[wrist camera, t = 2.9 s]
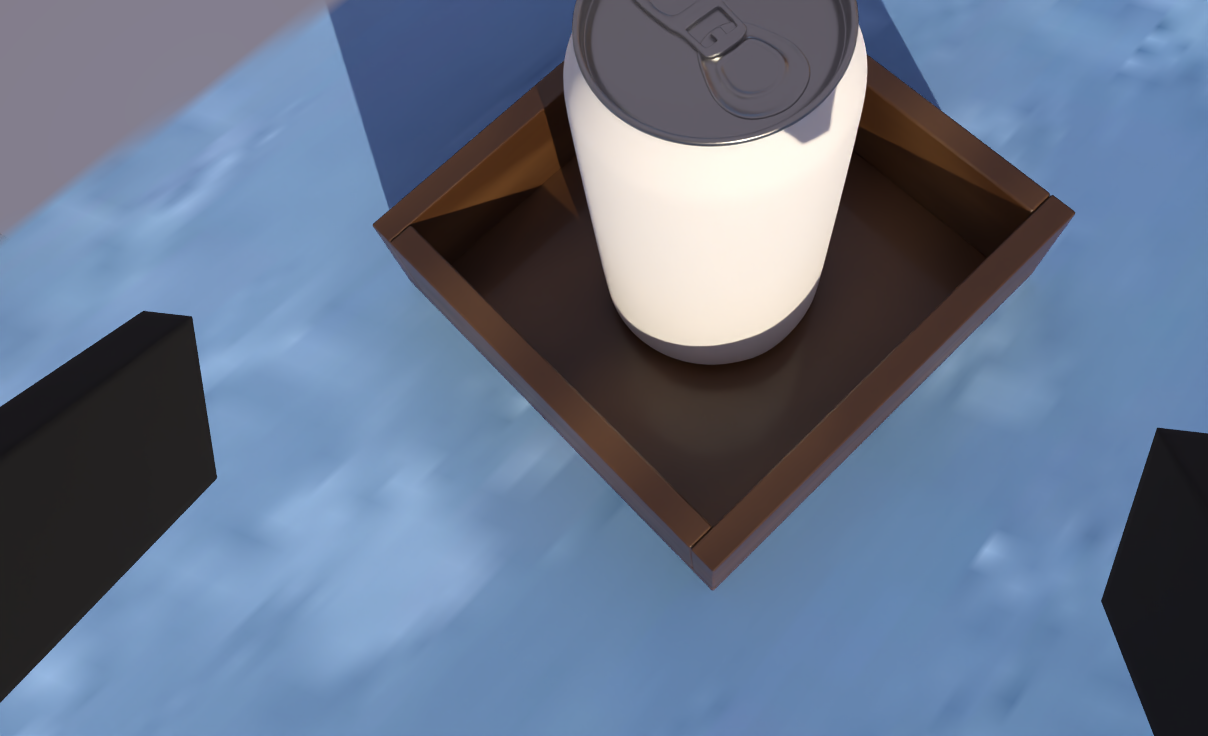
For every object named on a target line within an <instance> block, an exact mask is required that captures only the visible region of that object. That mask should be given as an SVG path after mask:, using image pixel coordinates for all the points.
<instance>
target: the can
mask: <svg viewBox="0 0 1208 736" xmlns="http://www.w3.org/2000/svg"><path fill="white" fill-rule="evenodd" d="M563 82H564V97H565V103H566V109H567V115H568V120H569V124H570V129H571V134H572V138H573V143H574V147H575V152H576V156H577V161H578V165H579V169H580V174H581V178H582V182H583V187H584V191H585V195H586V200H587V204H588V208H589V212H590V217H591V221H592V225H593V229H594V234H595V238H596V242H597V246H598V250H599V254H600V259H601V263H602V267H603V271H604V275H605V278H606V282H607V286H608V289H609V293H610V296H611V298H612V301H613V303H614V306H615V308H616V310H617V312H618V313H619V315H620V317H621V318H622V320H623V321H624V322H625V324H626V325H627V326H628V328H629V329H630V330H631V331H632V332H633V333H634V334H635V335H636V336H637V337H638V338H639V339H641V340H642V341H643V342H644V343H646V344H647V345H649V346H650V347H652V348H653V349H655V350H657V351H658V352H660V353H662V354H665V355H667V356H669V357H672V358H675V359H678V360H681V361H685V362H690V363H695V364H706V365H718V364H728V363H734V362H739V361H744V360H747V359H751V358H754V357H756V356H759V355H761V354H763V353H765V352H767V351H768V350H770V349H771V348H773V347H774V346H776V345H777V344H778V343H780V342H781V341H782V340H783V339H784V338H785V337H786V336H787V335H788V334H789V333H790V332H791V331H792V330H793V329H794V328H795V327H796V326H797V324H798V323H799V322H800V321H801V319H802V318H803V317H804V315H805V314H806V312H807V310H808V309H809V307H810V305H811V303H812V301H813V298H814V296H815V293H816V290H817V287H818V283H819V280H820V276H821V273H822V269H823V265H824V261H825V257H826V254H827V250H828V246H829V242H830V238H831V234H832V230H833V227H834V223H835V219H836V215H837V211H838V207H839V203H840V199H841V195H842V191H843V187H844V183H845V179H846V175H847V171H848V167H849V163H850V159H851V155H852V151H853V147H854V143H855V139H856V134H857V130H858V126H859V122H860V117H861V113H862V108H863V103H864V98H865V92H866V84H867V54H866V48H865V43H864V39H863V35H862V32H861V29H860V26H859V16H858V6H857V1H856V0H577V1H576V4H575V9H574V14H573V22H572V34H571V36H570V39H569V43H568V46H567V50H566V54H565V60H564V70H563Z"/></svg>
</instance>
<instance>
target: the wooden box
mask: <svg viewBox="0 0 1208 736" xmlns="http://www.w3.org/2000/svg"><path fill="white" fill-rule="evenodd" d="M563 70H564V61H563V62H562V63H561V64H559V65H558V66H557V67H556V68H555V69H554V70H552V71H551V72H550V73H549V74H548V75H547V76H545V77H544V78H543V79H542V80H541V81H540V82H538V83H537V84H536V85H535V86H534V87H533V88H531V89H530V90H529V91H528V92H527V93H526V94H524V95H523V96H522V97H521V98H520V99H519V100H517V101H516V102H515V103H514V104H513V105H512V106H510V107H509V108H508V109H507V110H506V111H505V112H503V113H502V114H501V115H500V116H499V117H498V118H496V119H495V120H494V121H493V122H492V123H491V124H489V125H488V126H487V127H486V128H485V129H483V130H482V131H481V132H480V133H479V134H478V135H476V136H475V137H474V138H473V139H472V140H471V141H469V142H468V143H467V144H466V145H465V146H464V147H462V148H461V149H460V150H459V151H458V152H457V153H455V154H454V155H453V156H452V157H451V158H450V159H448V160H447V161H446V162H445V163H444V164H443V165H441V166H440V167H439V168H438V169H437V170H436V171H434V172H433V173H432V174H431V175H430V176H429V177H427V178H426V179H425V180H424V181H423V182H422V183H420V184H419V185H418V186H417V187H416V188H415V189H413V190H412V191H411V192H410V193H409V194H407V195H406V196H405V197H404V198H403V199H402V200H400V201H399V202H398V203H397V204H396V205H395V206H393V207H392V208H391V209H390V210H389V211H388V212H386V213H385V214H384V215H383V216H382V217H381V218H379V219H378V220H377V221H376V222H375V223H374V224H373V227H374V228H375V230H376V231H377V233H378V234H379V236H380V237H381V239H382V240H383V241H384V243H385V244H386V246H387V247H388V249H389V250H390V252H391V253H392V255H393V256H394V258H395V259H396V260H397V262H398V263H399V265H400V266H401V268H402V269H403V271H404V272H405V274H406V275H407V276H408V278H409V279H410V281H411V282H412V283H413V284H414V285H415V286H416V287H417V288H418V289H419V290H420V291H421V292H422V293H423V294H424V295H425V296H426V297H427V298H428V299H429V301H430V302H431V303H432V304H433V305H434V306H435V307H436V308H437V309H438V310H439V311H440V312H441V313H442V314H443V315H444V316H445V317H446V318H447V319H448V320H449V321H450V322H451V323H452V324H453V325H454V326H455V327H456V328H457V329H458V330H459V331H460V332H461V333H462V334H463V335H464V336H465V337H466V338H467V340H468V341H469V342H470V343H471V344H472V345H473V346H474V347H475V348H476V349H477V350H478V351H479V352H480V353H481V354H482V355H483V356H484V357H485V358H486V359H487V360H488V361H489V362H490V363H491V364H492V365H493V366H494V367H495V368H496V369H497V370H498V371H499V372H500V373H501V374H502V375H503V376H504V377H505V379H506V380H507V381H508V382H509V383H510V384H511V385H512V386H513V387H514V388H515V389H516V390H517V391H518V392H519V393H520V394H521V395H522V396H523V397H524V398H525V399H526V400H527V401H528V402H529V403H530V404H531V405H532V406H533V407H534V408H535V409H536V410H537V411H538V412H539V413H540V414H541V415H542V417H543V418H544V419H545V420H546V421H547V422H548V423H549V424H550V425H551V426H552V427H553V428H554V429H555V430H556V431H557V432H558V433H559V434H560V435H561V436H562V437H563V438H564V439H565V440H566V441H567V442H568V443H569V444H570V445H571V446H572V447H573V448H574V449H575V450H576V451H577V452H578V453H579V454H580V456H581V457H582V458H583V459H584V460H585V461H586V462H587V463H588V464H589V465H590V466H591V467H592V468H593V469H594V470H595V471H596V472H597V473H598V474H599V475H600V476H601V477H602V478H603V479H604V480H605V481H606V482H607V483H608V484H609V485H610V486H611V487H612V488H613V489H614V490H615V491H616V492H617V493H618V495H619V496H620V497H621V498H622V499H623V500H624V501H625V502H626V503H627V504H628V505H629V506H630V507H631V508H632V509H633V510H634V511H635V512H636V513H637V514H638V515H639V516H640V517H641V518H642V519H643V520H644V521H645V522H646V523H647V524H648V525H649V526H650V527H651V528H652V529H653V530H654V531H655V532H656V534H657V535H658V536H659V537H660V538H661V539H662V540H663V541H664V542H665V543H666V544H667V545H668V546H669V547H670V548H671V549H672V550H673V551H674V552H675V553H676V554H677V555H678V556H679V557H680V558H681V559H682V560H683V561H684V562H685V563H686V564H687V565H688V566H689V567H690V568H691V569H692V570H693V572H694V573H695V574H696V575H697V576H698V577H699V578H700V579H701V580H702V581H703V582H704V583H705V584H706V585H707V586H708V587H709V588H710V589H711V590H715V589H716V588H717V587H718V586H719V585H720V584H721V583H722V582H723V581H724V580H725V579H726V578H727V577H728V576H729V575H730V574H731V573H732V572H733V571H734V570H735V569H736V568H737V567H738V566H739V565H740V564H741V563H742V562H743V561H744V560H745V559H746V558H747V557H748V556H749V555H750V554H751V553H752V552H753V551H754V550H755V549H756V548H757V547H758V546H759V545H760V544H761V543H762V542H763V541H764V540H765V539H766V538H767V537H768V536H769V535H770V534H771V533H772V532H773V531H774V530H775V529H776V528H777V527H778V526H779V525H780V524H781V523H782V522H783V521H784V520H785V519H786V518H787V517H788V516H789V515H790V514H791V513H792V512H793V511H794V510H795V509H796V508H797V507H798V506H799V505H800V504H801V503H802V502H803V501H804V500H805V499H806V498H807V497H808V496H809V495H810V494H811V493H812V492H813V491H814V490H815V489H816V488H817V487H818V486H819V485H820V484H821V483H822V482H823V481H824V480H825V479H826V478H827V477H828V476H829V475H830V474H831V473H832V472H833V471H834V470H835V469H836V468H837V467H838V466H839V465H840V464H841V463H842V462H843V461H844V460H845V459H846V458H847V457H848V456H849V455H850V454H851V453H852V452H853V451H854V450H855V449H856V448H857V447H858V446H859V445H860V444H861V443H862V442H863V441H864V440H865V439H866V438H867V437H868V436H869V435H870V434H871V433H872V432H873V431H874V430H875V429H876V428H877V427H878V426H879V425H880V424H881V423H882V422H883V421H884V420H885V419H886V418H887V417H888V416H889V415H890V414H891V413H892V412H893V411H894V410H895V409H896V408H897V407H898V406H899V405H900V404H901V403H902V402H903V401H904V400H905V399H906V398H907V397H908V396H910V395H911V394H912V393H913V392H914V391H915V390H916V389H917V388H918V387H919V386H920V385H921V384H922V383H923V382H924V381H925V380H926V379H927V378H928V377H929V376H930V375H931V374H932V373H933V372H934V371H935V370H936V369H937V368H938V367H939V366H940V365H941V364H942V363H943V362H944V361H945V360H946V359H947V358H948V357H949V356H950V355H951V354H952V353H953V352H954V351H955V350H956V349H957V348H958V347H959V346H960V345H961V344H962V343H963V342H964V341H965V340H966V339H967V338H968V337H969V336H970V335H971V334H972V333H973V332H974V331H975V330H976V329H977V328H978V327H979V326H980V325H981V324H982V323H983V322H984V321H985V320H986V319H987V318H988V317H989V316H990V315H991V314H992V313H993V312H994V311H995V310H996V309H997V308H998V307H999V306H1000V305H1001V304H1002V303H1003V302H1004V301H1005V300H1006V299H1007V298H1008V297H1009V296H1010V295H1011V294H1012V293H1013V292H1014V291H1015V290H1016V289H1017V288H1018V287H1019V286H1020V285H1021V284H1022V283H1023V282H1024V281H1025V280H1026V279H1027V278H1028V277H1029V276H1030V275H1031V274H1032V273H1033V271H1034V270H1035V268H1036V267H1037V266H1038V264H1039V263H1040V262H1041V260H1042V259H1043V257H1044V256H1045V255H1046V253H1047V252H1048V251H1049V249H1050V248H1051V246H1052V245H1053V244H1054V242H1055V241H1056V240H1057V238H1058V237H1059V235H1060V234H1061V233H1062V231H1063V230H1064V229H1065V227H1066V226H1067V224H1068V223H1069V222H1070V220H1071V219H1072V217H1073V216H1074V215H1075V212H1074V211H1073V210H1072V209H1071V208H1069V207H1068V206H1067V205H1065V204H1064V203H1063V202H1061V201H1060V200H1059V199H1057V198H1056V197H1055V196H1054V195H1051V196H1050V194H1049V192H1047V191H1046V190H1045V189H1044V188H1042V187H1041V186H1040V185H1038V184H1037V183H1036V182H1034V181H1033V180H1032V179H1030V178H1029V177H1028V176H1026V175H1025V174H1024V173H1022V172H1021V171H1020V170H1019V169H1017V168H1016V167H1015V166H1013V165H1012V164H1011V163H1009V162H1008V161H1007V160H1005V159H1004V158H1003V157H1001V156H1000V155H999V154H997V153H996V152H995V151H994V150H992V149H991V148H990V147H988V146H987V145H986V144H984V143H983V142H982V141H980V140H979V139H978V138H976V137H975V136H974V135H972V134H971V133H970V132H969V131H967V130H966V129H965V128H963V127H962V126H961V125H959V124H958V123H957V122H955V121H954V120H953V119H951V118H950V117H949V116H947V115H946V114H945V113H944V112H942V111H941V110H940V109H938V108H937V107H936V106H934V105H933V104H932V103H930V102H929V101H928V100H926V99H925V98H924V97H922V96H921V95H920V94H918V93H917V92H916V91H915V90H913V89H912V88H911V87H909V86H908V85H907V84H905V83H904V82H903V81H901V80H900V79H899V78H897V77H896V76H895V75H893V74H892V73H891V72H890V71H888V70H887V69H886V68H884V67H883V66H882V65H880V64H879V63H878V62H876V61H875V60H874V59H872V58H871V57H870V56H868V55H867V84H866V92H865V98H864V103H863V108H862V113H861V117H860V122H859V126H858V130H857V134H856V139H855V143H854V147H853V151H852V155H851V159H850V163H849V167H848V171H847V175H846V179H845V183H844V187H843V191H842V195H841V199H840V203H839V207H838V211H837V215H836V219H835V223H834V227H833V230H832V234H831V238H830V242H829V246H828V250H827V254H826V257H825V261H824V265H823V269H822V273H821V276H820V280H819V283H818V287H817V290H816V293H815V296H814V298H813V301H812V303H811V305H810V307H809V309H808V310H807V312H806V314H805V315H804V317H803V318H802V319H801V321H800V322H799V323H798V324H797V326H796V327H795V328H794V329H793V330H792V331H791V332H790V333H789V334H788V335H787V336H786V337H785V338H784V339H783V340H782V341H781V342H780V343H778V344H777V345H776V346H774V347H773V348H771V349H770V350H768V351H767V352H765V353H763V354H761V355H759V356H756V357H754V358H751V359H747V360H744V361H739V362H734V363H728V364H718V365H706V364H695V363H690V362H685V361H681V360H678V359H675V358H672V357H669V356H667V355H665V354H662V353H660V352H658V351H657V350H655V349H653V348H652V347H650V346H649V345H647V344H646V343H644V342H643V341H642V340H641V339H639V338H638V337H637V336H636V335H635V334H634V333H633V332H632V331H631V330H630V329H629V328H628V326H627V325H626V324H625V322H624V321H623V320H622V318H621V317H620V315H619V313H618V312H617V310H616V308H615V306H614V303H613V301H612V298H611V296H610V293H609V289H608V286H607V282H606V278H605V275H604V271H603V267H602V263H601V259H600V254H599V250H598V246H597V242H596V238H595V234H594V229H593V225H592V221H591V217H590V212H589V208H588V204H587V200H586V195H585V191H584V187H583V182H582V178H581V174H580V169H579V165H578V161H577V156H576V152H575V147H574V143H573V138H572V134H571V129H570V124H569V120H568V115H567V109H566V103H565V97H564V82H563ZM1049 196H1050V197H1049Z"/></svg>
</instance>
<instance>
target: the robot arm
mask: <svg viewBox="0 0 1208 736" xmlns="http://www.w3.org/2000/svg"><path fill="white" fill-rule="evenodd" d="M216 479H217V475H216V468H215V462H214V455H213V449H212V442H211V436H210V429H209V423H208V416H207V410H206V403H205V397H204V391H203V384H202V378H201V371H200V365H199V358H198V352H197V345H196V339H195V332H194V326H193V319H192V317H191V316H183V315H174V314H165V313H157V312H148V311H142V312H141V313H139V314H138V315H136V316H135V317H133V318H132V319H131V320H129V321H128V322H126V323H125V324H123V325H122V326H120V327H119V328H117V329H116V330H114V331H113V332H111V333H110V334H108V335H107V336H105V337H104V338H102V339H101V340H99V341H98V342H96V343H95V344H93V345H92V346H90V347H89V348H87V349H86V350H84V351H83V352H81V353H80V354H78V355H77V356H75V357H74V358H72V359H71V360H69V361H68V362H66V363H65V364H63V365H62V366H60V367H59V368H57V369H56V370H55V371H53V372H52V373H50V374H49V375H47V376H46V377H44V378H43V379H41V380H40V381H38V382H37V383H35V384H34V385H32V386H31V387H29V388H28V389H26V390H25V391H23V392H22V393H20V394H19V395H17V396H16V397H14V398H13V399H11V400H10V401H8V402H7V403H5V404H4V405H2V406H1V407H0V702H1V701H2V700H3V699H4V698H5V697H6V696H7V695H8V694H9V693H10V692H11V691H12V690H13V689H14V688H15V687H16V686H17V685H18V684H19V683H20V682H21V681H22V680H23V679H24V678H25V677H26V676H27V675H28V673H29V672H30V671H31V670H32V669H33V668H34V667H35V666H36V665H37V664H38V663H39V662H40V661H41V660H42V659H43V658H44V657H45V656H46V655H47V654H48V653H49V652H50V651H51V650H52V649H53V648H54V647H55V646H56V644H57V643H58V642H59V641H60V640H61V639H62V638H63V637H64V636H65V635H66V634H67V633H68V632H69V631H70V630H71V629H72V628H73V627H74V626H75V625H76V624H77V623H78V622H79V621H80V620H81V619H82V618H83V617H84V615H85V614H86V613H87V612H88V611H89V610H90V609H91V608H92V607H93V606H94V605H95V604H96V603H97V602H98V601H99V600H100V599H101V598H102V597H103V596H104V595H105V594H106V593H107V592H108V591H109V590H110V589H111V588H112V586H113V585H114V584H115V583H116V582H117V581H118V580H119V579H120V578H121V577H122V576H123V575H124V574H125V573H126V572H127V571H128V570H129V569H130V568H131V567H132V566H133V565H134V564H135V563H136V562H137V561H138V560H139V559H140V557H141V556H142V555H143V554H144V553H145V552H146V551H147V550H148V549H149V548H150V547H151V546H152V545H153V544H154V543H155V542H156V541H157V540H158V539H159V538H160V537H161V536H162V535H163V534H164V533H165V532H166V531H167V530H168V528H169V527H170V526H171V525H172V524H173V523H174V522H175V521H176V520H177V519H178V518H179V517H180V516H181V515H182V514H183V513H184V512H185V511H186V510H187V509H188V508H189V507H190V506H191V505H192V504H193V503H194V502H195V501H196V499H197V498H198V497H199V496H200V495H201V494H202V493H203V492H204V491H205V490H206V489H207V488H208V487H209V486H210V485H211V484H212V483H213V482H214V481H215V480H216ZM1101 602H1102V604H1103V607H1104V609H1105V612H1106V614H1107V617H1108V620H1109V622H1110V625H1111V627H1112V630H1113V632H1114V635H1115V637H1116V640H1117V642H1118V645H1119V648H1120V650H1121V653H1122V655H1123V658H1124V660H1125V663H1126V665H1127V668H1128V670H1129V673H1130V676H1131V678H1132V681H1133V683H1134V686H1135V688H1136V691H1137V693H1138V696H1139V698H1140V701H1141V704H1142V706H1143V709H1144V711H1145V714H1146V716H1147V719H1148V721H1149V724H1150V726H1151V729H1152V732H1153V734H1154V736H1208V434H1207V433H1199V432H1190V431H1181V430H1173V429H1164V428H1157V430H1156V433H1155V436H1154V439H1153V442H1152V445H1151V448H1150V452H1149V455H1148V458H1147V461H1146V464H1145V467H1144V470H1143V473H1142V476H1141V479H1140V482H1139V486H1138V489H1137V492H1136V495H1135V498H1134V501H1133V504H1132V507H1131V510H1130V513H1129V517H1128V520H1127V523H1126V526H1125V529H1124V532H1123V535H1122V538H1121V541H1120V544H1119V548H1118V551H1117V554H1116V557H1115V560H1114V563H1113V566H1112V569H1111V572H1110V575H1109V578H1108V582H1107V585H1106V588H1105V591H1104V594H1103V597H1102V600H1101Z"/></svg>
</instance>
